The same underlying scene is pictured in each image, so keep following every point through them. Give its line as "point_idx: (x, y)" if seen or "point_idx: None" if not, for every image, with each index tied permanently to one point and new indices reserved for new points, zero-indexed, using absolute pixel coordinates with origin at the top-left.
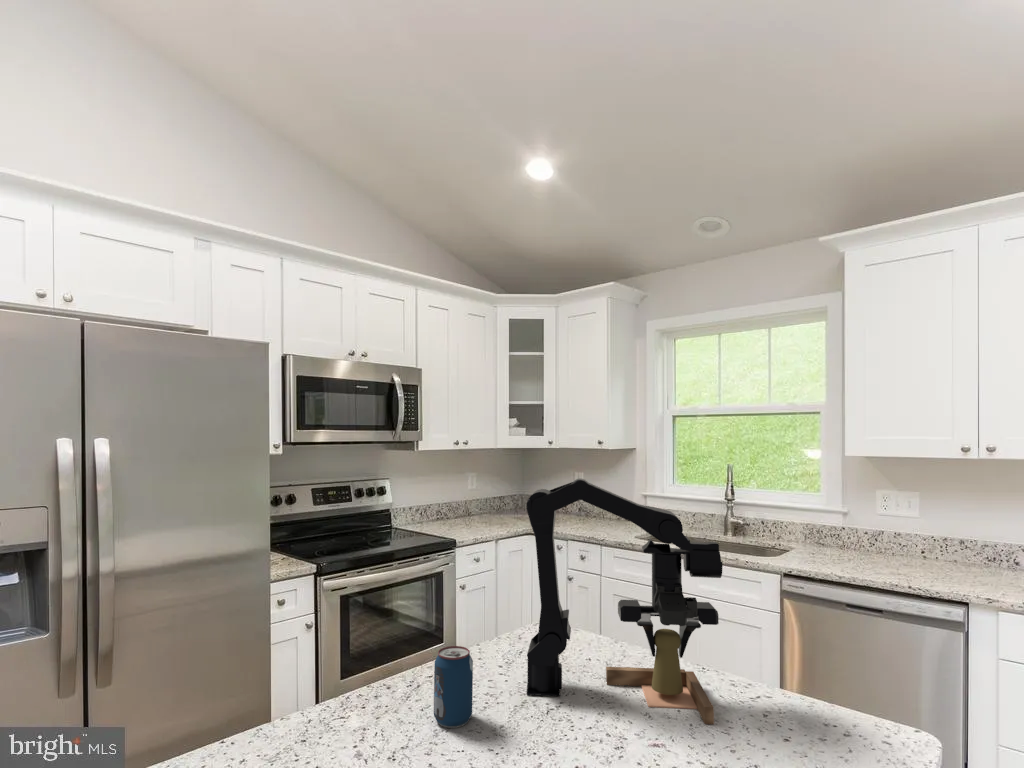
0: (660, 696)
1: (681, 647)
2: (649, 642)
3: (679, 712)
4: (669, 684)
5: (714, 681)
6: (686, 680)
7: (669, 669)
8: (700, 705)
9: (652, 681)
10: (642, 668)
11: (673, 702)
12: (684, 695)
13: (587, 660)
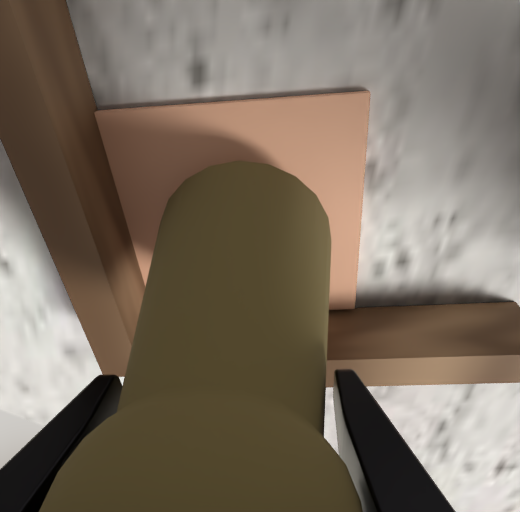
0: None
1: (61, 450)
2: (436, 492)
3: (194, 48)
4: (233, 193)
5: (49, 371)
6: None
7: (221, 256)
8: (39, 18)
9: (330, 256)
10: None
11: (221, 151)
12: None
13: (512, 460)
